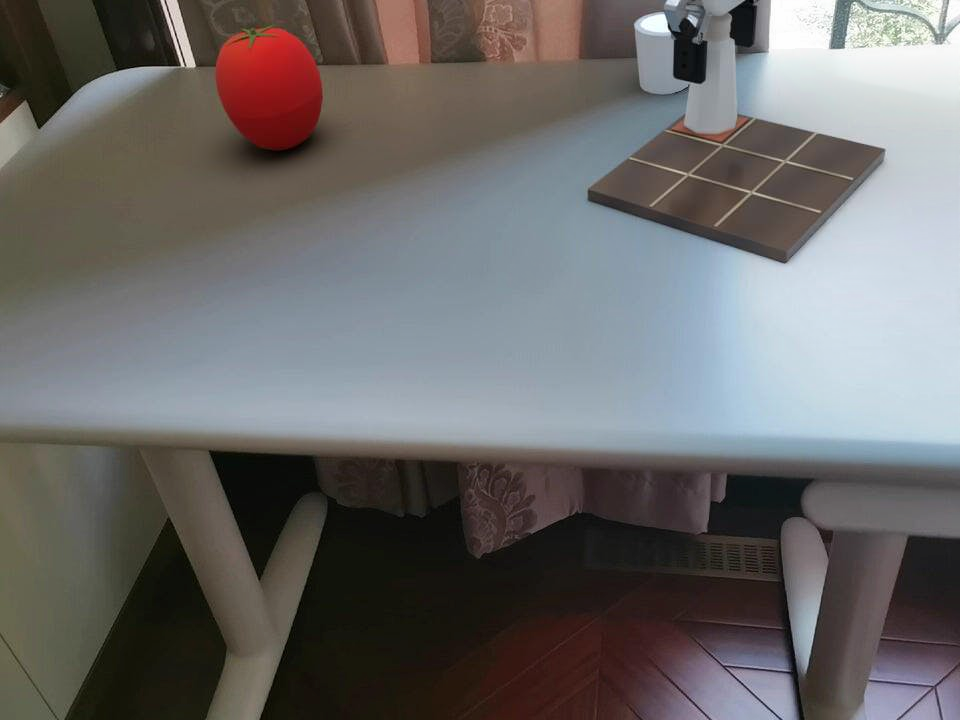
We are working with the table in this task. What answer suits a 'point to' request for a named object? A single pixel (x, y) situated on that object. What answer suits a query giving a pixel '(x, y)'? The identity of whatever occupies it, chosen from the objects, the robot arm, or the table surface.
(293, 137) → the tomato
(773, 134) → the board
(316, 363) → the table surface
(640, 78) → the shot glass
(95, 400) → the table surface
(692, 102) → the pepper shaker
